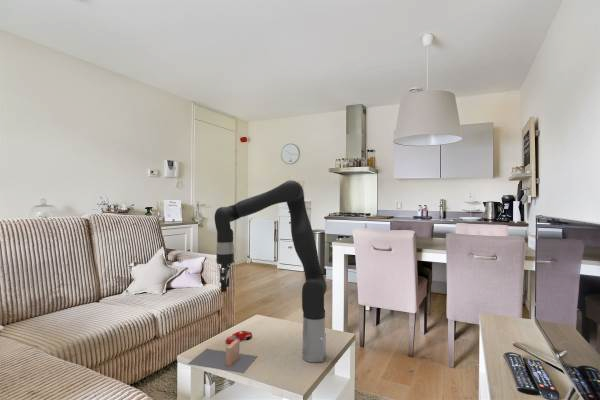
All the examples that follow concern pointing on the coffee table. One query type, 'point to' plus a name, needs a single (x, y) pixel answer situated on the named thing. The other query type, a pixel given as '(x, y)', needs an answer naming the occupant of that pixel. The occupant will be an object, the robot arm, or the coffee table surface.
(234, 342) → the tile
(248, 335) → the race car
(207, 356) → the mat
